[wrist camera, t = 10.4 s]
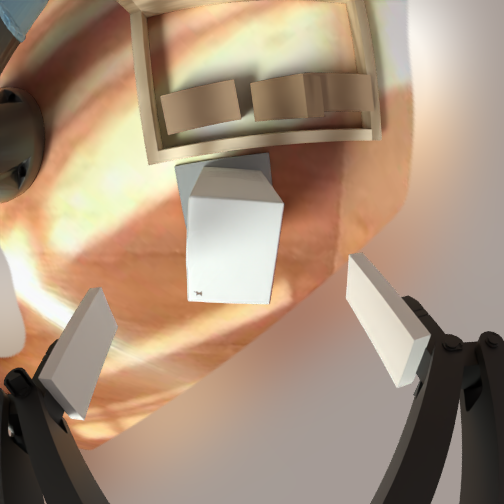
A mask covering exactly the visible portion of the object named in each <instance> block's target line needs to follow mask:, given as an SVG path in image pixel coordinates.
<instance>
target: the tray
mask: <svg viewBox="0 0 504 504" xmlns="http://www.w3.org/2000/svg"><path fill="white" fill-rule="evenodd" d="M116 1H117V2H118V3H119V4H120V5H121V6H122V7H123V8H124V9H125V10H126V11H127V12H128V13H129V14H130V22H131V37H132V50H133V60H134V70H135V79H136V87H137V95H138V103H139V110H140V117H141V123H142V130H143V136H144V142H145V148H146V153H147V159H148V164H149V165H152V164H157V163H162V162H167V161H172V160H177V159H183V158H188V157H194V156H200V155H206V154H213V153H219V152H226V151H233V150H241V149H249V148H258V147H267V146H277V145H288V144H300V143H314V142H332V141H364V140H382V135H381V117H380V103H379V92H378V82H377V73H376V65H375V58H374V51H373V44H372V38H371V33H370V27H369V22H368V17H367V12H366V7H365V3H364V0H308V1H323V2H335V3H344V4H346V7H347V12H348V17H349V22H350V28H351V33H352V39H353V46H354V52H355V60H356V67H357V74H365V75H371V83H372V93H373V105H374V112H372V111H361V117H362V128H343V129H316V130H299V131H285V132H274V133H264V134H254V135H246V136H238V137H230V138H223V139H216V140H210V141H203V142H197V143H192V144H186V145H180V146H175V147H170V148H165V149H163V146H162V140H161V134H160V127H159V121H158V114H157V107H156V100H155V92H154V85H153V76H152V68H151V58H150V48H149V37H148V25H147V17H151V16H155V15H159V14H164V13H168V12H173V11H177V10H182V9H188V8H193V7H199V6H206V5H213V4H221V3H230V2H241V1H257V0H116Z"/></svg>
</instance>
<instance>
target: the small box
mask: <svg viewBox="0 0 504 504" xmlns="http://www.w3.org/2000/svg"><path fill="white" fill-rule="evenodd" d="M284 205H285V204H284V203H283V201H282V200H281V198H280V197H279V195H278V194H277V192H276V191H275V190H274V188H273V187H272V185H271V184H270V183H269V181H268V180H267V178H266V177H265V176H264V174H263V173H262V171H259V170H247V169H234V168H219V167H203V168H202V171H201V173H200V175H199V177H198V179H197V181H196V183H195V185H194V187H193V189H192V191H191V194H190V196H189V199H188V217H187V245H186V267H187V294H188V301H199V302H214V303H242V304H269V303H270V300H271V294H272V288H273V281H274V275H275V268H276V262H277V255H278V248H279V241H280V234H281V227H282V220H283V212H284Z"/></svg>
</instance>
